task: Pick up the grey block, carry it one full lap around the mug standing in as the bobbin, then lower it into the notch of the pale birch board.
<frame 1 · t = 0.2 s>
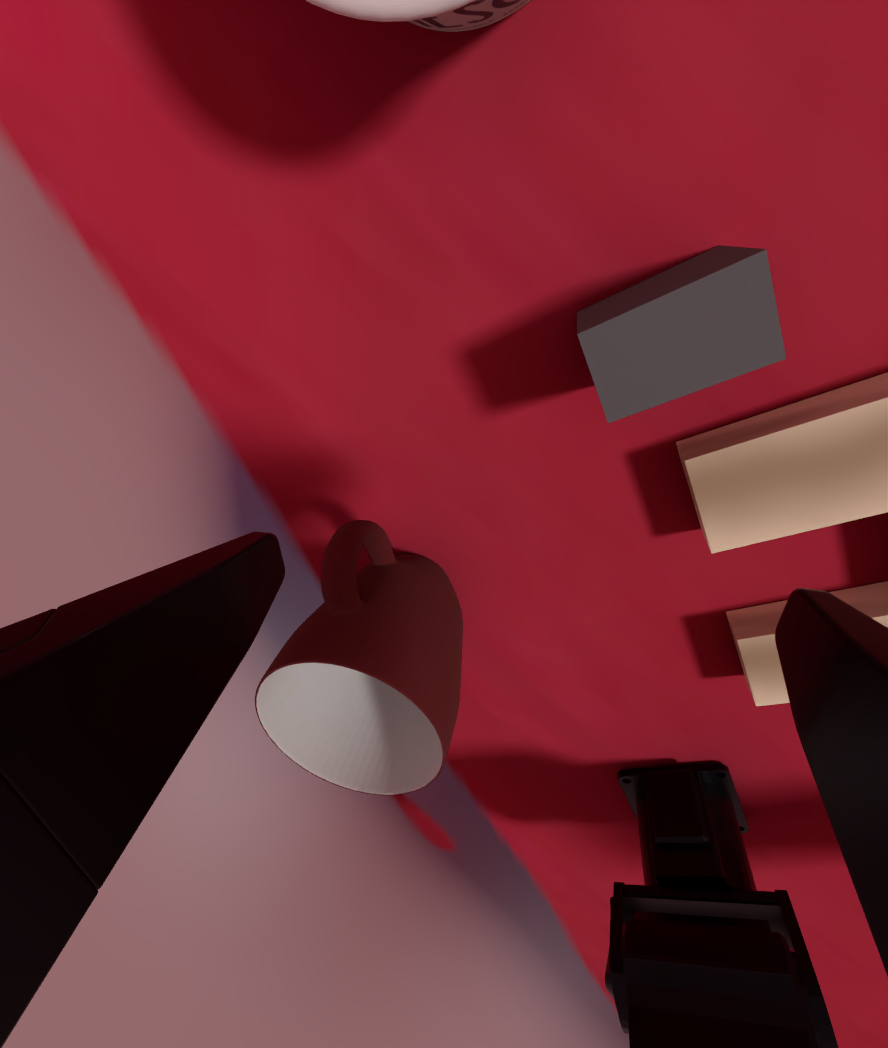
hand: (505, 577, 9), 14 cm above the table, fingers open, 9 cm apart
mug: (409, 562, 27), on the table
notch board: (826, 547, 21), on the table
grey block: (654, 320, 18), on the table
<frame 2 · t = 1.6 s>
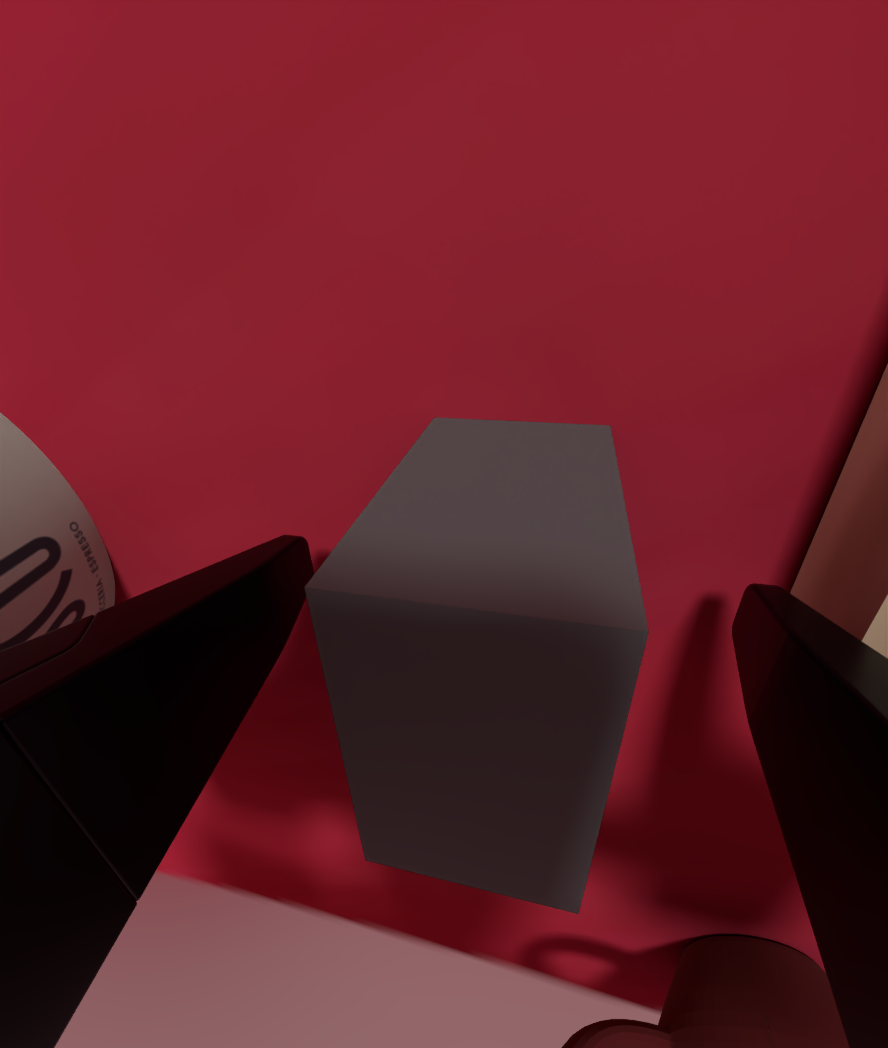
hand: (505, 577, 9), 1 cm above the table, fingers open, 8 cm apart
mug: (707, 944, 16), on the table
grey block: (513, 542, 10), on the table
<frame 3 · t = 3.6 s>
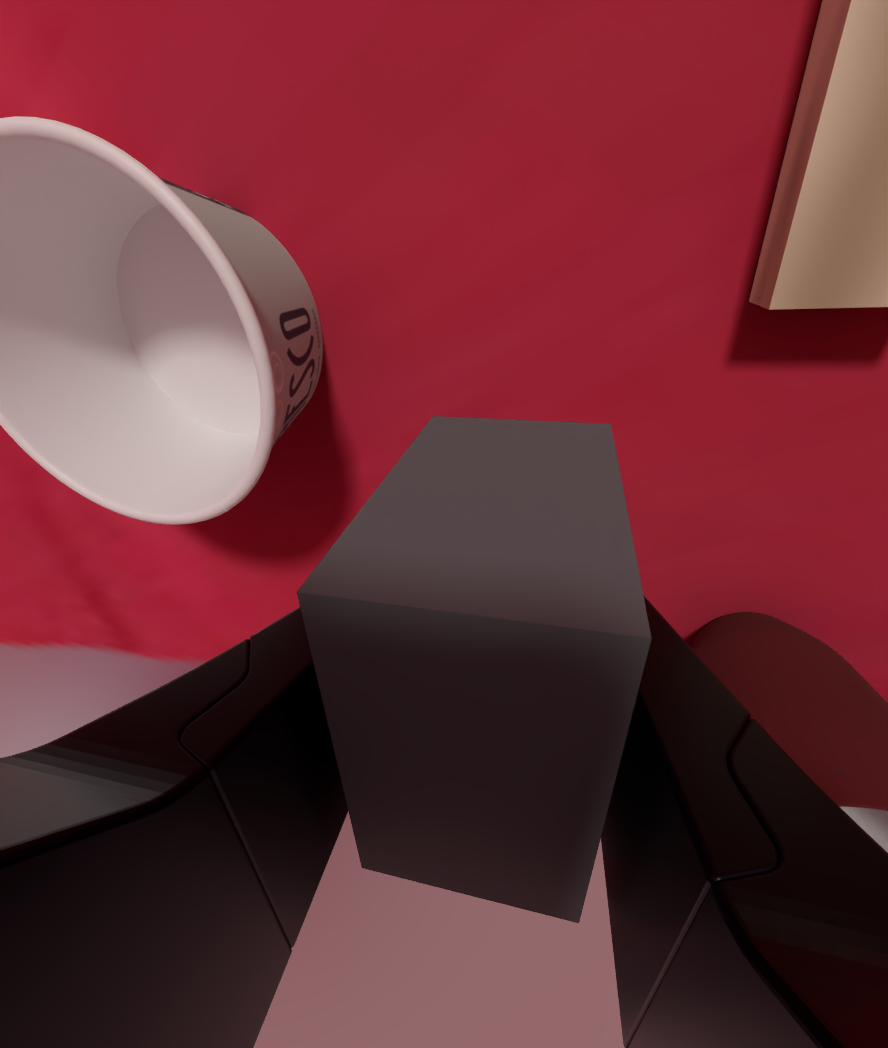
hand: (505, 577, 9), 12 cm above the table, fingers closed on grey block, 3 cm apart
mug: (712, 635, 23), on the table
food container: (226, 327, 21), on the table
grey block: (512, 543, 9), point 11 cm above the table, touching gripper
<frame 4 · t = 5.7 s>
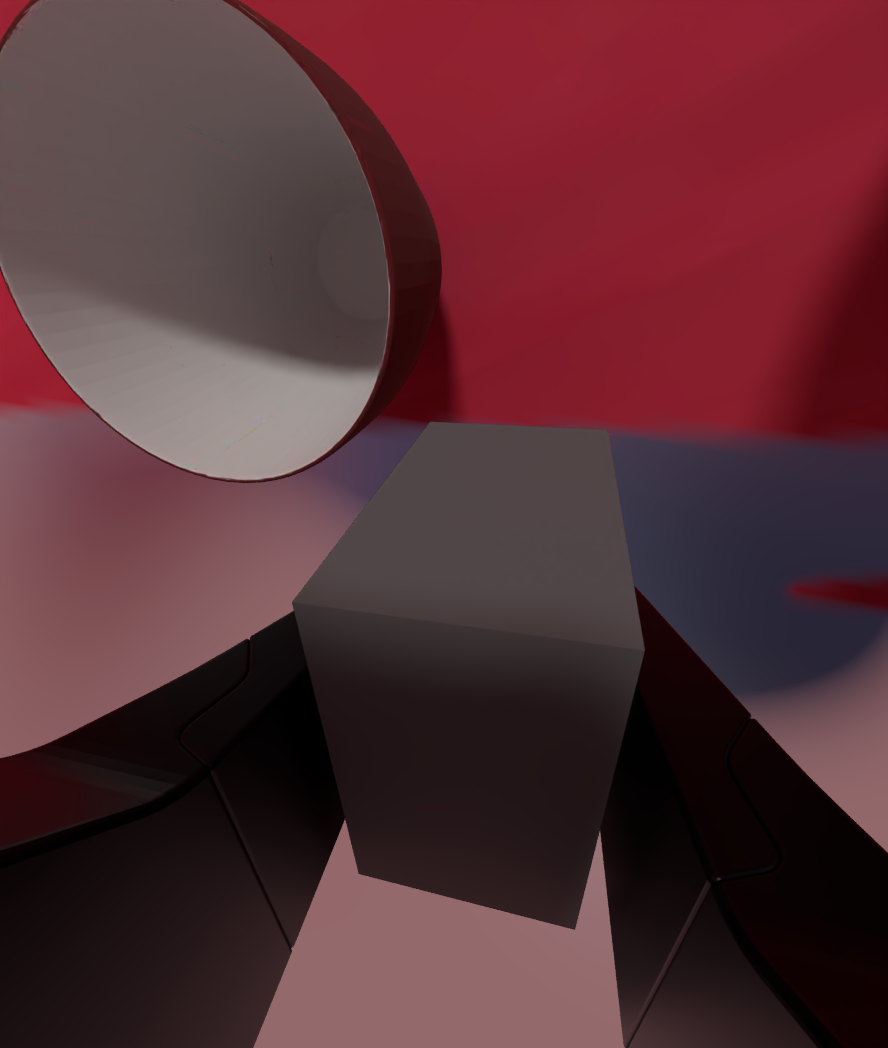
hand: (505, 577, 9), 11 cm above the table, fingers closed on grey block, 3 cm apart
mug: (338, 261, 18), on the table
grey block: (509, 548, 9), point 10 cm above the table, touching gripper
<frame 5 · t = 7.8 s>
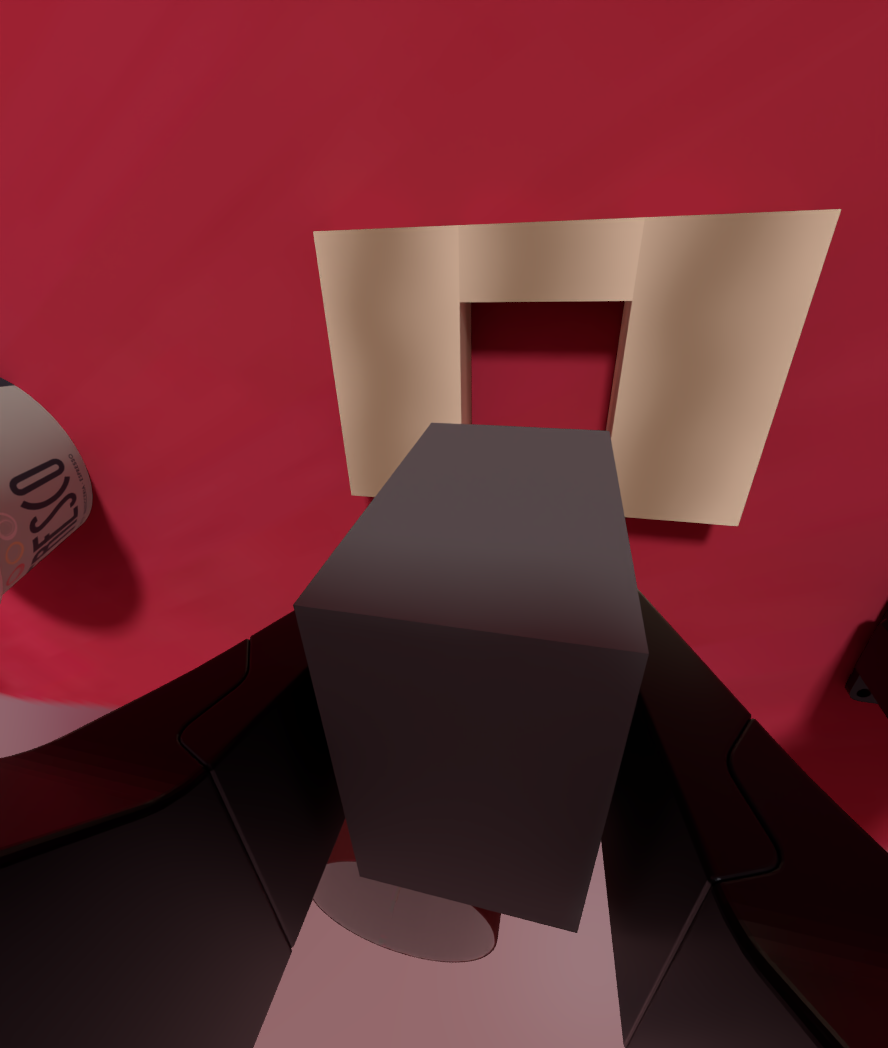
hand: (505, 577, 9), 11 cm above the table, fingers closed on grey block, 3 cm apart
mug: (430, 701, 28), on the table
notch board: (540, 371, 17), on the table
food container: (17, 455, 26), on the table
grey block: (511, 549, 9), point 10 cm above the table, touching gripper
when the fingers open (3 cm above the table, at t = 9.4 s): grey block drops 2 cm, resting in notch board.
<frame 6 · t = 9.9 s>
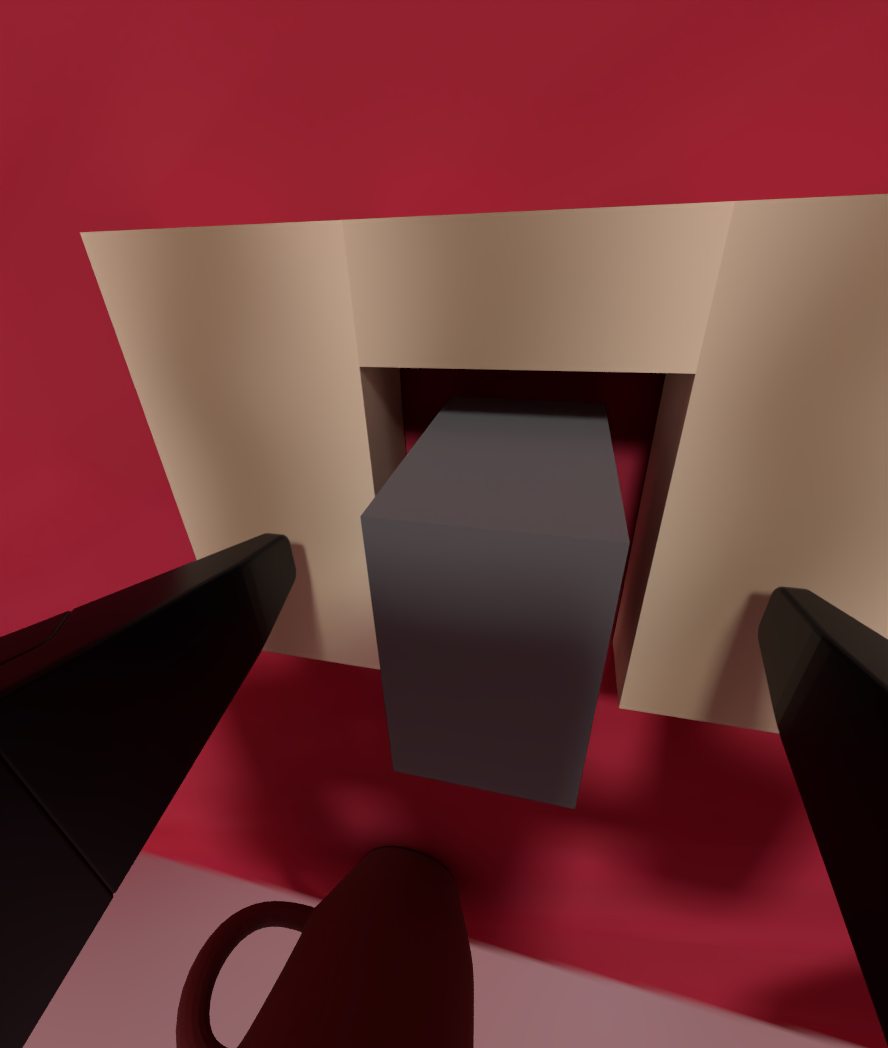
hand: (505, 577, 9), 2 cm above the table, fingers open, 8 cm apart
mug: (384, 857, 21), on the table
notch board: (519, 468, 10), on the table
grey block: (518, 509, 11), resting in notch board
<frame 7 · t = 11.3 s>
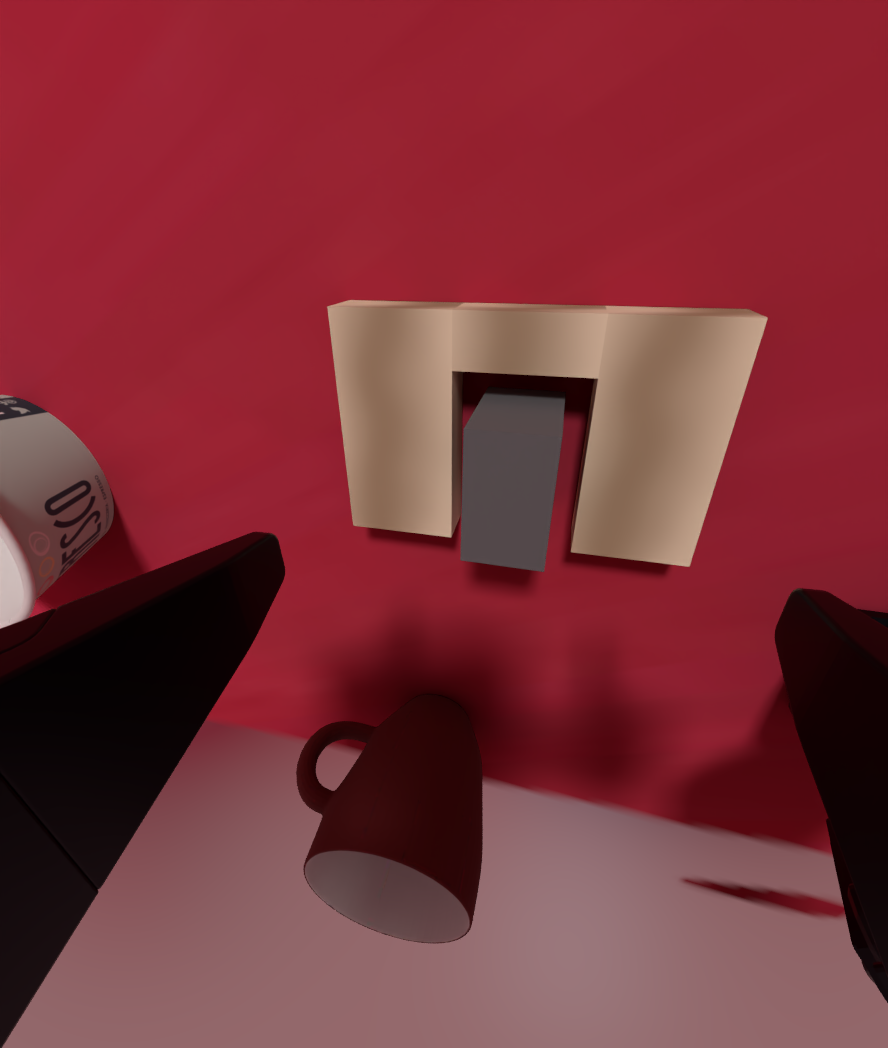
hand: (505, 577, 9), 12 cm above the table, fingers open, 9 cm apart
mug: (419, 707, 30), on the table
notch board: (522, 425, 20), on the table
food container: (44, 473, 28), on the table
grey block: (521, 448, 20), resting in notch board
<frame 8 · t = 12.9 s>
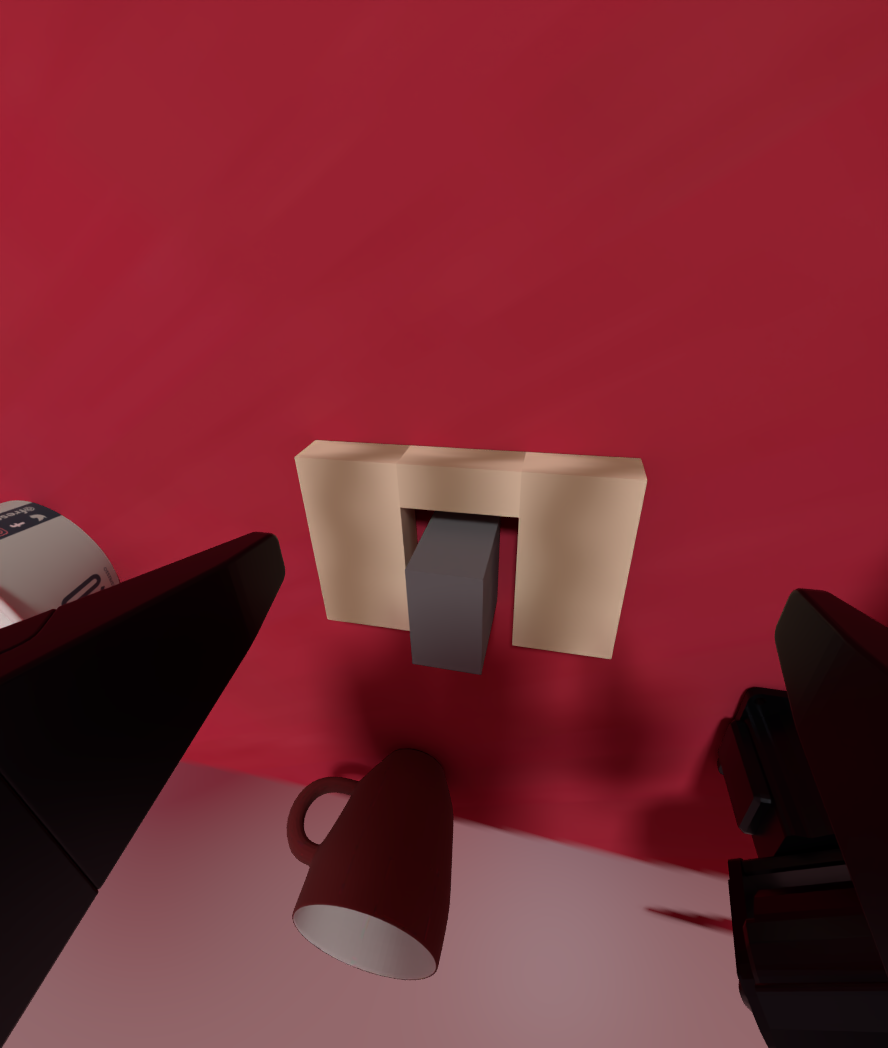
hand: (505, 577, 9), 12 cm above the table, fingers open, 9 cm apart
mug: (399, 759, 34), on the table
notch board: (467, 538, 23), on the table
food container: (59, 561, 31), on the table
grey block: (468, 555, 23), resting in notch board
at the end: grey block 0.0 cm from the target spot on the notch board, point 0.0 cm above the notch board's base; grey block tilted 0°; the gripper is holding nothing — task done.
